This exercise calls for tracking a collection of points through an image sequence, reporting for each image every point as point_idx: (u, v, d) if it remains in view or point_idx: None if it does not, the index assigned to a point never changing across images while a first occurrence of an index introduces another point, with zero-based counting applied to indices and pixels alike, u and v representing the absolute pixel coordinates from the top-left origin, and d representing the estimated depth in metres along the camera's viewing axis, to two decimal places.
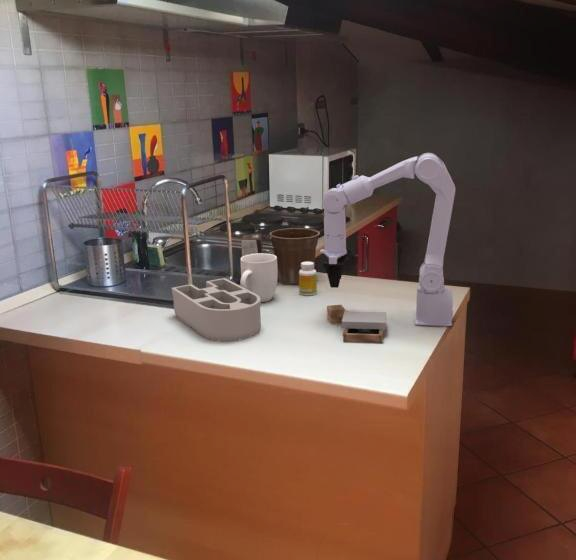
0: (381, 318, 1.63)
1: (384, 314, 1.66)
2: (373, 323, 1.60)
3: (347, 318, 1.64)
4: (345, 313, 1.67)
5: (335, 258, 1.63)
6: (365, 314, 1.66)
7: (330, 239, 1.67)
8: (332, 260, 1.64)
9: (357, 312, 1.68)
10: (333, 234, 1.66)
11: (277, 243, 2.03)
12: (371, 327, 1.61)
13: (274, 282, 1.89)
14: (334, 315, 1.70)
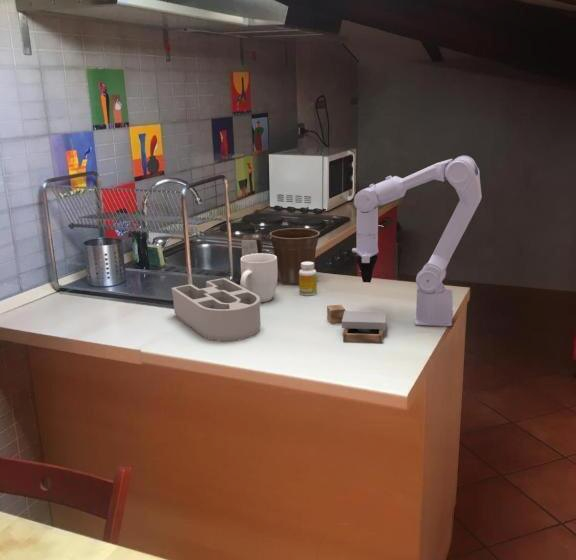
0: (381, 318, 1.63)
1: (384, 314, 1.66)
2: (373, 323, 1.60)
3: (347, 318, 1.64)
4: (345, 313, 1.67)
5: (368, 257, 1.65)
6: (365, 314, 1.66)
7: (362, 238, 1.69)
8: (365, 259, 1.65)
9: (357, 312, 1.68)
10: (364, 233, 1.68)
11: (277, 243, 2.03)
12: (371, 327, 1.61)
13: (274, 282, 1.89)
14: (334, 315, 1.70)
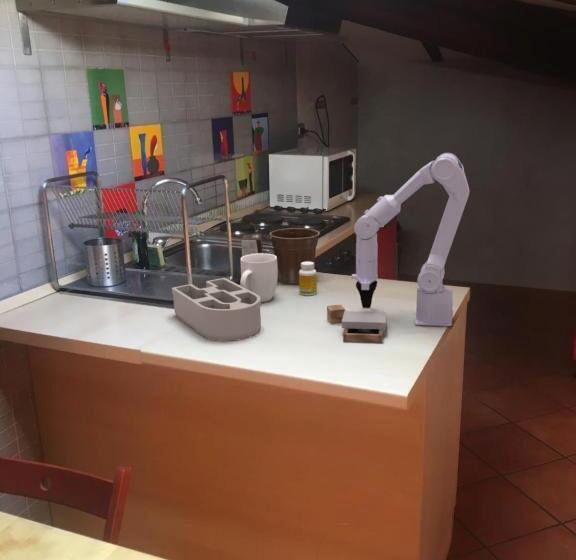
0: (381, 318, 1.63)
1: (384, 314, 1.66)
2: (373, 323, 1.60)
3: (347, 318, 1.64)
4: (345, 313, 1.67)
5: (368, 284, 1.65)
6: (365, 314, 1.66)
7: (362, 265, 1.69)
8: (364, 286, 1.66)
9: (357, 312, 1.68)
10: (364, 260, 1.68)
11: (277, 243, 2.03)
12: (371, 327, 1.61)
13: (274, 282, 1.89)
14: (334, 315, 1.70)
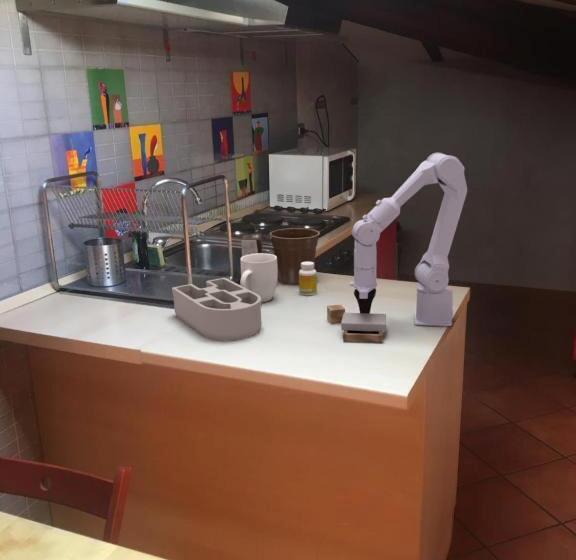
0: (381, 320, 1.61)
1: (384, 315, 1.64)
2: (372, 325, 1.59)
3: (347, 319, 1.62)
4: (345, 315, 1.66)
5: (366, 293, 1.59)
6: (364, 315, 1.65)
7: (360, 272, 1.62)
8: (363, 294, 1.59)
9: (357, 314, 1.66)
10: (367, 267, 1.61)
11: (277, 243, 2.03)
12: (371, 329, 1.59)
13: (274, 282, 1.89)
14: (334, 315, 1.70)
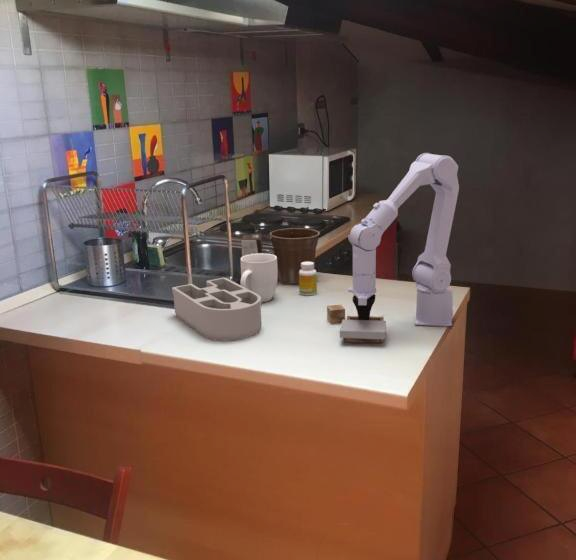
0: (380, 327, 1.56)
1: (383, 323, 1.59)
2: (372, 333, 1.54)
3: (345, 327, 1.57)
4: (343, 322, 1.61)
5: (365, 299, 1.54)
6: (364, 322, 1.60)
7: (359, 278, 1.57)
8: (362, 301, 1.54)
9: (356, 321, 1.61)
10: (369, 272, 1.57)
11: (277, 243, 2.03)
12: (370, 337, 1.54)
13: (274, 282, 1.89)
14: (334, 315, 1.70)
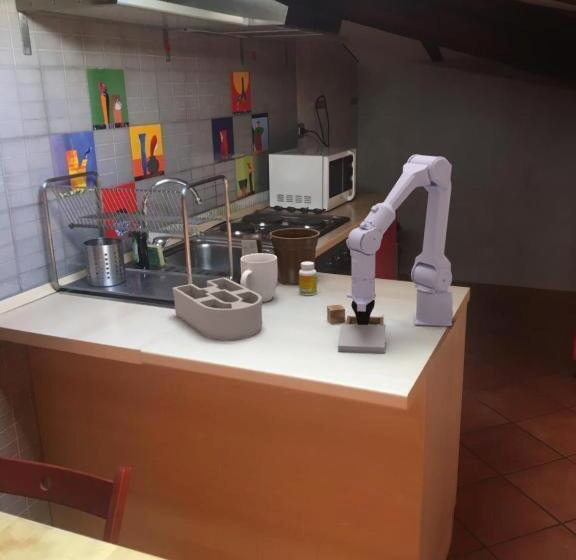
0: (380, 338, 1.53)
1: (383, 329, 1.55)
2: (371, 348, 1.51)
3: (344, 338, 1.54)
4: (341, 329, 1.57)
5: (364, 305, 1.50)
6: (362, 329, 1.56)
7: (358, 283, 1.53)
8: (361, 307, 1.50)
9: (354, 326, 1.57)
10: (370, 277, 1.53)
11: (277, 243, 2.03)
12: (369, 351, 1.51)
13: (274, 282, 1.89)
14: (334, 315, 1.70)
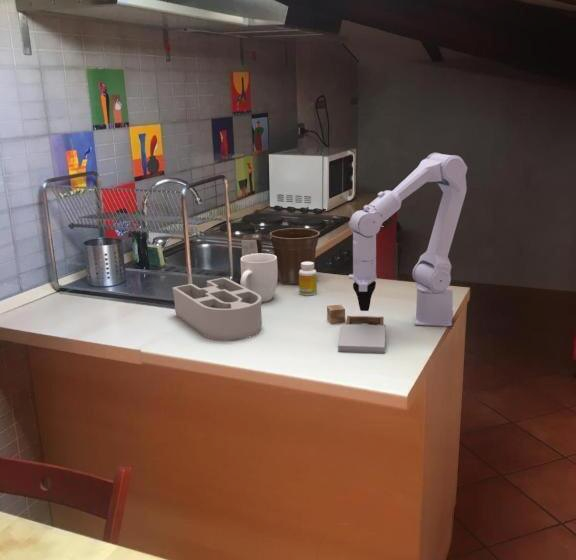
0: (380, 338, 1.53)
1: (383, 329, 1.55)
2: (371, 348, 1.51)
3: (344, 338, 1.54)
4: (341, 329, 1.57)
5: (366, 286, 1.54)
6: (363, 329, 1.56)
7: (360, 264, 1.57)
8: (362, 287, 1.54)
9: (354, 326, 1.57)
10: (369, 259, 1.56)
11: (277, 243, 2.03)
12: (369, 351, 1.51)
13: (274, 282, 1.89)
14: (334, 315, 1.70)
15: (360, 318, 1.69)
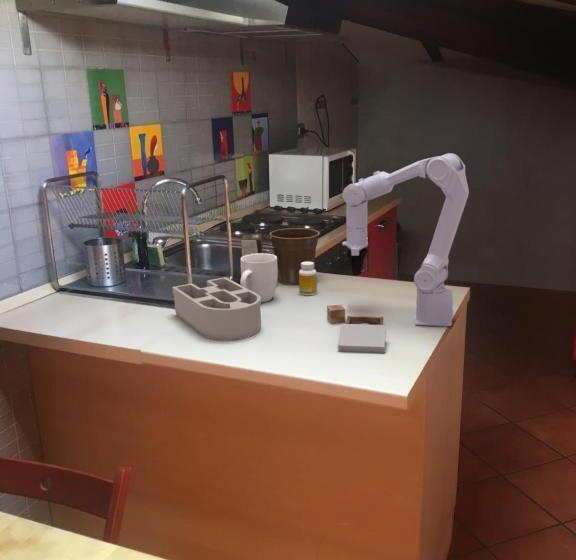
0: (380, 338, 1.53)
1: (383, 329, 1.55)
2: (371, 347, 1.51)
3: (344, 338, 1.54)
4: (341, 329, 1.57)
5: (358, 250, 1.69)
6: (363, 329, 1.56)
7: (352, 231, 1.73)
8: (354, 252, 1.69)
9: (354, 326, 1.57)
10: (352, 226, 1.72)
11: (277, 243, 2.03)
12: (369, 350, 1.51)
13: (274, 282, 1.89)
14: (334, 315, 1.70)
15: (360, 318, 1.69)
